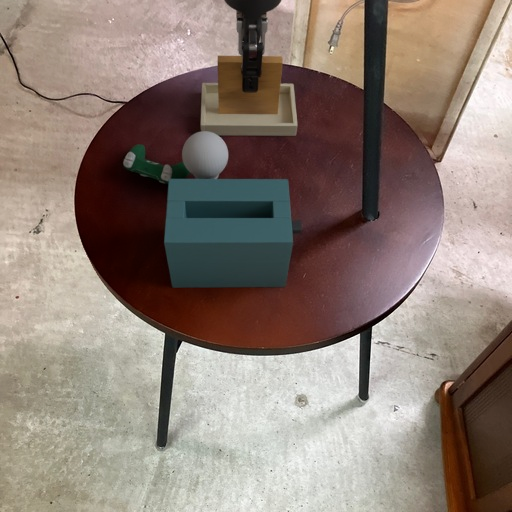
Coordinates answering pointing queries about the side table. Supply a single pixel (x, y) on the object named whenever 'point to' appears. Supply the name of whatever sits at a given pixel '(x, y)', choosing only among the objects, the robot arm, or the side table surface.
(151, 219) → the side table surface
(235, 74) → the toast
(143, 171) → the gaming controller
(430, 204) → the side table surface
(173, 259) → the toaster
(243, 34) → the robot arm
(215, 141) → the light bulb
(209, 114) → the tray
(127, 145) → the side table surface
